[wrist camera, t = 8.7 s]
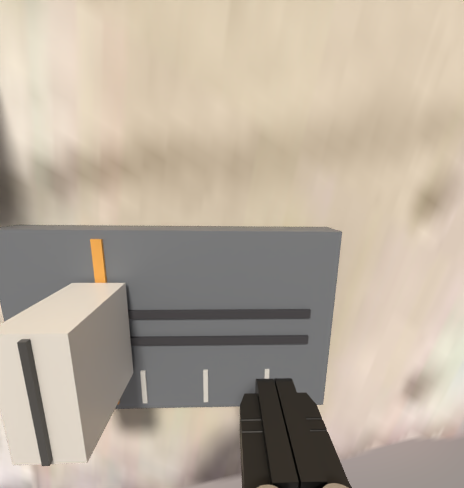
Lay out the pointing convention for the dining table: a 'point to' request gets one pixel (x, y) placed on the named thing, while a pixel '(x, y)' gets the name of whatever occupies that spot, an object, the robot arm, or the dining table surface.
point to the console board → (194, 301)
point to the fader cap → (64, 372)
